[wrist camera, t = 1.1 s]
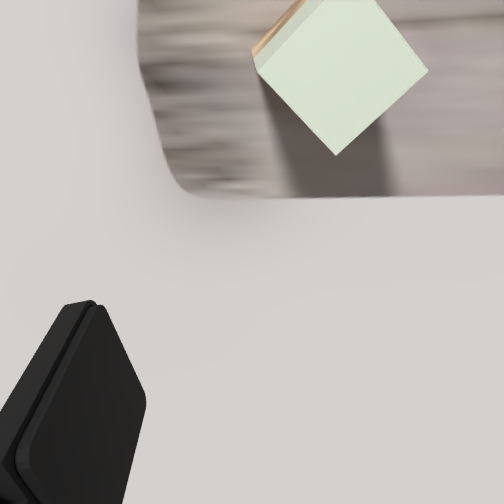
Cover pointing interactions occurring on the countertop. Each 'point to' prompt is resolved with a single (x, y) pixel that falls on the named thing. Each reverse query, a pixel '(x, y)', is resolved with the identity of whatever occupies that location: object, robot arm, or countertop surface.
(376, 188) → the countertop surface
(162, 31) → the countertop surface
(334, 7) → the sage block
